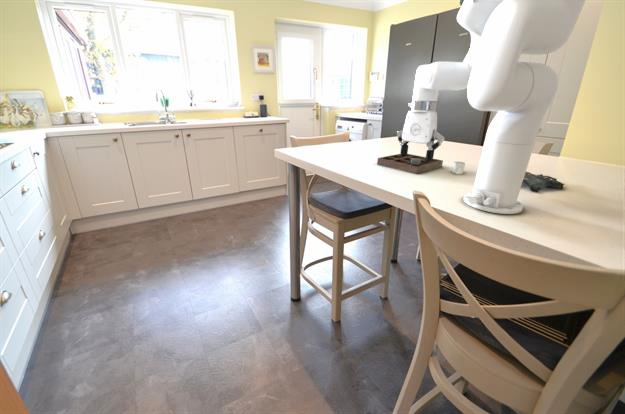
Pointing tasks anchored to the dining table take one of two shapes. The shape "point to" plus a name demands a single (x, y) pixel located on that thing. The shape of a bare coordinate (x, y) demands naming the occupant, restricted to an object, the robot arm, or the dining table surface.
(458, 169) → the white stone
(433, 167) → the board
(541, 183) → the decorative rock
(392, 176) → the dining table surface
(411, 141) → the robot arm
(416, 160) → the black stone
